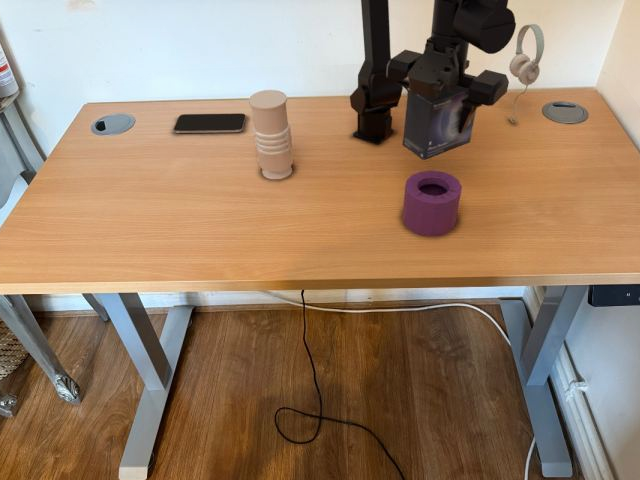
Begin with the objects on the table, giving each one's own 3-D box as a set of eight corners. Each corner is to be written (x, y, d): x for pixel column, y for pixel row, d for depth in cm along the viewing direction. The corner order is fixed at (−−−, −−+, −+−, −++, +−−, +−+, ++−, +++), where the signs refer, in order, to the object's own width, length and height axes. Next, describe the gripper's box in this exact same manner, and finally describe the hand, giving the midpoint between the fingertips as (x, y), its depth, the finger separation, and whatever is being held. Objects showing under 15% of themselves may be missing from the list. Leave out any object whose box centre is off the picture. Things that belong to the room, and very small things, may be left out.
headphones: (529, 130, 113) (554, 32, 98) (512, 133, 112) (535, 35, 98) (512, 111, 119) (533, 16, 104) (495, 114, 118) (514, 19, 104)
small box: (424, 162, 89) (431, 103, 81) (400, 145, 92) (404, 87, 85) (472, 143, 92) (482, 84, 85) (447, 127, 96) (455, 70, 89)
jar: (392, 223, 93) (395, 190, 88) (420, 197, 98) (423, 164, 93) (439, 243, 89) (444, 210, 84) (465, 215, 94) (471, 181, 89)
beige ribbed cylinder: (287, 183, 102) (279, 110, 91) (254, 177, 104) (242, 105, 93) (299, 163, 107) (293, 92, 96) (267, 158, 108) (257, 87, 97)
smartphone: (241, 129, 115) (172, 130, 115) (242, 132, 115) (173, 133, 116) (245, 113, 120) (179, 114, 120) (246, 115, 120) (180, 116, 121)
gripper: (368, 34, 78) (367, 131, 89) (485, 63, 70) (468, 165, 81) (407, 11, 84) (401, 104, 95) (520, 35, 76) (499, 133, 87)
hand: (439, 125), depth 90 cm, fingers closed on small box, 7 cm apart
